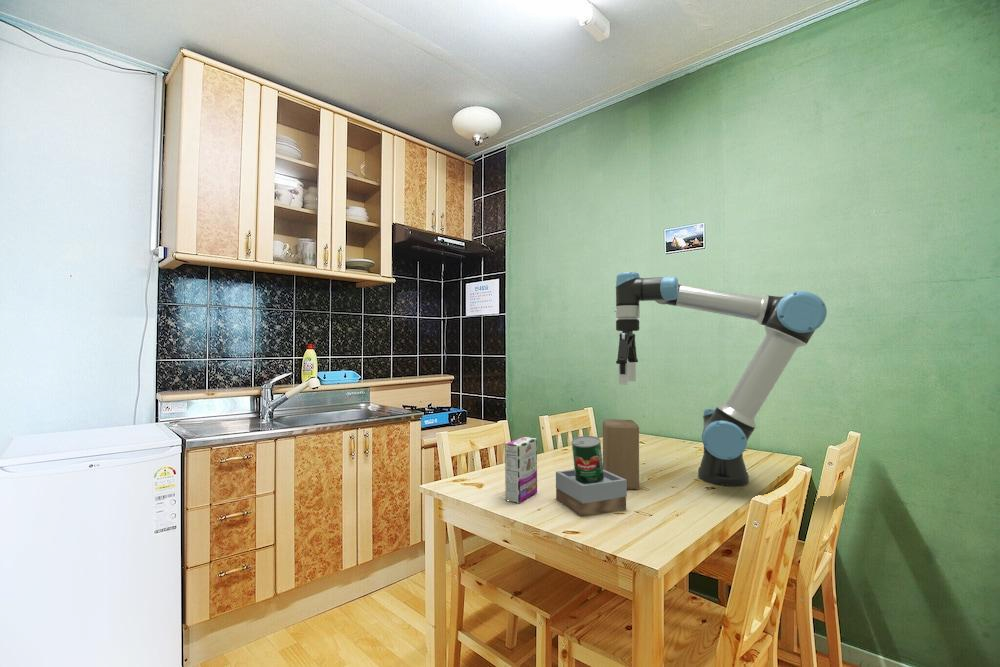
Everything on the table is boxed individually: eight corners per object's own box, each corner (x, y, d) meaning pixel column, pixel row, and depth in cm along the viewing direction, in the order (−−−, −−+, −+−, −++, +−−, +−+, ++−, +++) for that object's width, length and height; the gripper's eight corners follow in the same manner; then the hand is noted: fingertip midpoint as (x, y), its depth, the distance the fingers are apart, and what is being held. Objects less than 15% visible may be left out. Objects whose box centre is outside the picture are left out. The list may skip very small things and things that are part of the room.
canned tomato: (597, 470, 132) (593, 433, 130) (608, 481, 124) (605, 443, 123) (571, 475, 130) (567, 438, 129) (581, 487, 122) (577, 448, 121)
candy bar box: (523, 490, 139) (523, 436, 139) (537, 493, 136) (537, 438, 137) (503, 500, 129) (504, 443, 130) (519, 504, 127) (519, 445, 127)
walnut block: (598, 495, 136) (598, 481, 136) (626, 512, 123) (626, 497, 123) (556, 500, 131) (556, 486, 131) (580, 518, 118) (580, 503, 118)
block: (633, 480, 149) (633, 419, 149) (639, 490, 139) (639, 424, 139) (602, 479, 150) (602, 418, 150) (606, 489, 140) (606, 424, 140)
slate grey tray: (596, 481, 136) (596, 466, 136) (626, 496, 123) (626, 479, 123) (555, 487, 131) (555, 471, 131) (582, 503, 118) (582, 486, 118)
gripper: (623, 320, 165) (623, 379, 164) (607, 317, 142) (607, 385, 142) (645, 320, 161) (645, 380, 161) (631, 317, 139) (631, 386, 139)
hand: (627, 382), depth 152 cm, fingers open, 13 cm apart
